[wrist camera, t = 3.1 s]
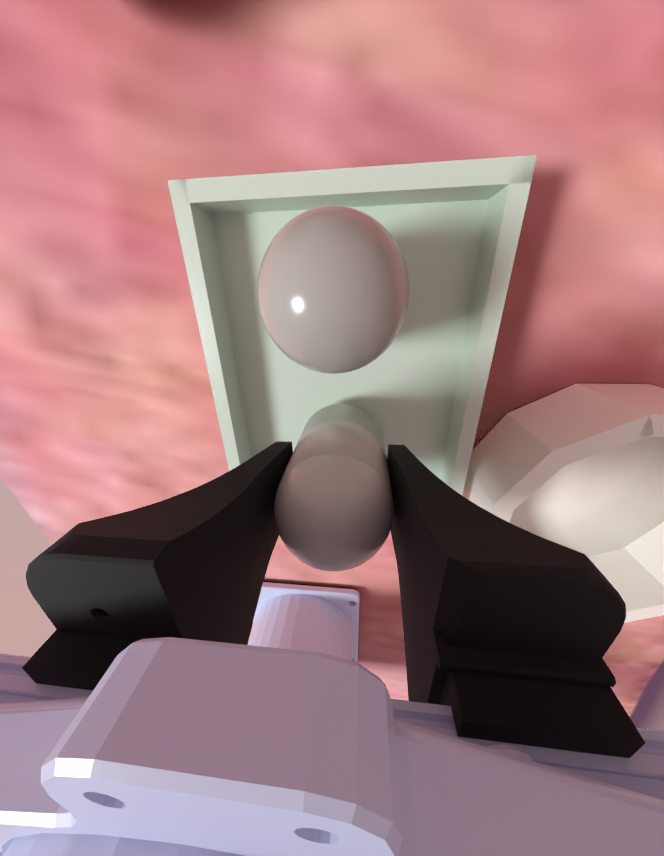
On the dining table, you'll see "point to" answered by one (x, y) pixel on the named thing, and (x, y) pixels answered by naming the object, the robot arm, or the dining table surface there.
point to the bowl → (585, 481)
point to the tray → (424, 322)
